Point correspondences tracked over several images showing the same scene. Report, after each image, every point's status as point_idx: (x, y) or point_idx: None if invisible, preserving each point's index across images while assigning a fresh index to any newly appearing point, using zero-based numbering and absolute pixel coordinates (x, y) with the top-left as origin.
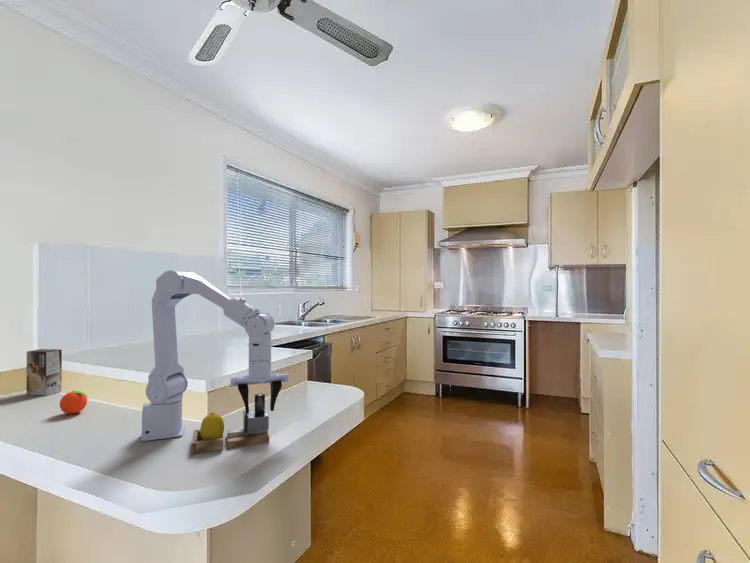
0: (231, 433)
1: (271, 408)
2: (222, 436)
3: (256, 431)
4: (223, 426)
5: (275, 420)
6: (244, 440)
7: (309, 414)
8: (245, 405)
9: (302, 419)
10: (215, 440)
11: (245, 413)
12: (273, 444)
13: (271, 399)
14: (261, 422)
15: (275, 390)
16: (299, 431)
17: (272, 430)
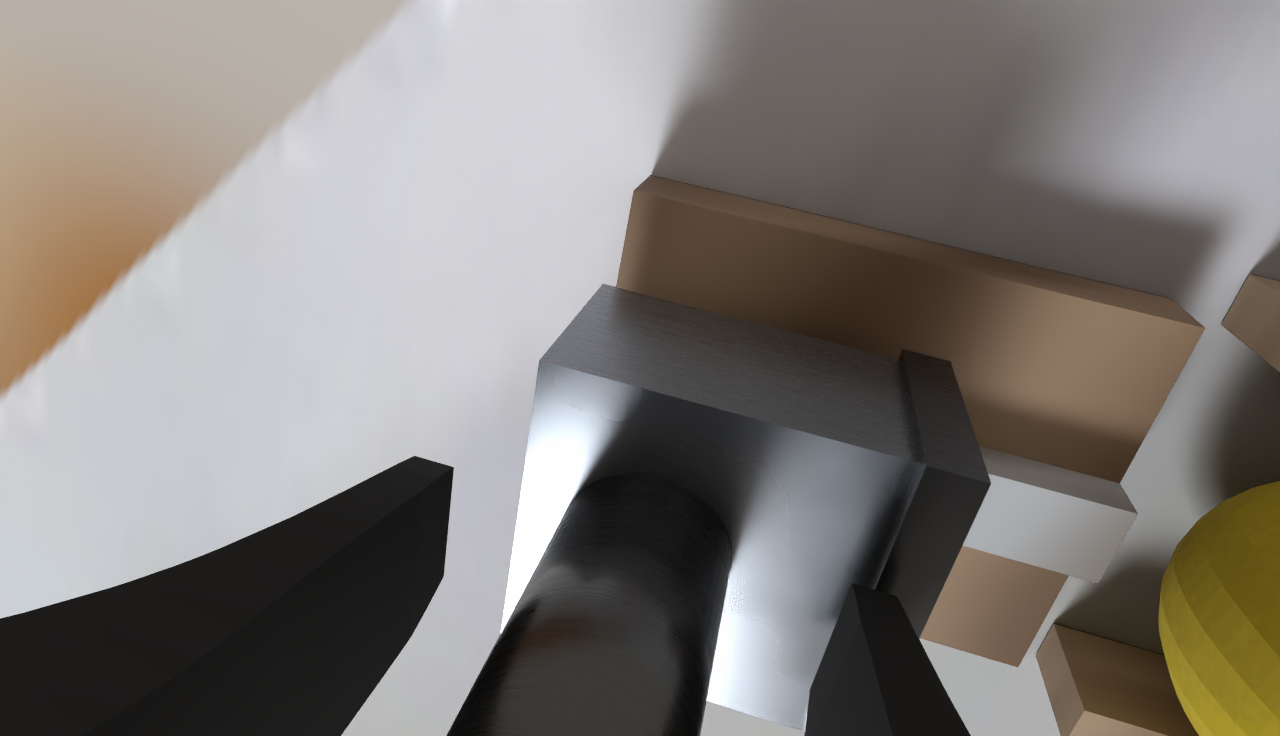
0: (1077, 490)
1: (426, 483)
2: (1059, 633)
3: None
4: (1243, 596)
5: (429, 686)
6: (965, 264)
7: None
8: (956, 716)
9: (194, 558)
10: None
11: None
12: (627, 69)
13: (327, 646)
14: (682, 355)
15: (7, 694)
16: (267, 284)
17: (519, 482)
